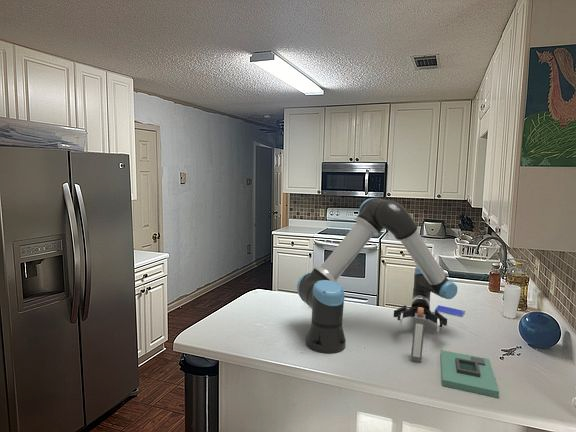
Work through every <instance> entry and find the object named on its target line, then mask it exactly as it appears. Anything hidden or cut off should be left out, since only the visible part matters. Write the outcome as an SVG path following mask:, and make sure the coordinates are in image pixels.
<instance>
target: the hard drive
mask: <svg viewBox="0 0 576 432" xmlns="http://www.w3.org/2000/svg"><path fill="white" fill-rule="evenodd" d="M435 310H437V311H438V313H440V314H445V315H449V316H451V317H457V318H461V319H463V317H464V316H465V314H466V310H461V309H456V308H452V307H448V306H444V305H439V304H438V305H437V306H436V307H435V309H434V311H435Z"/></svg>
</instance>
